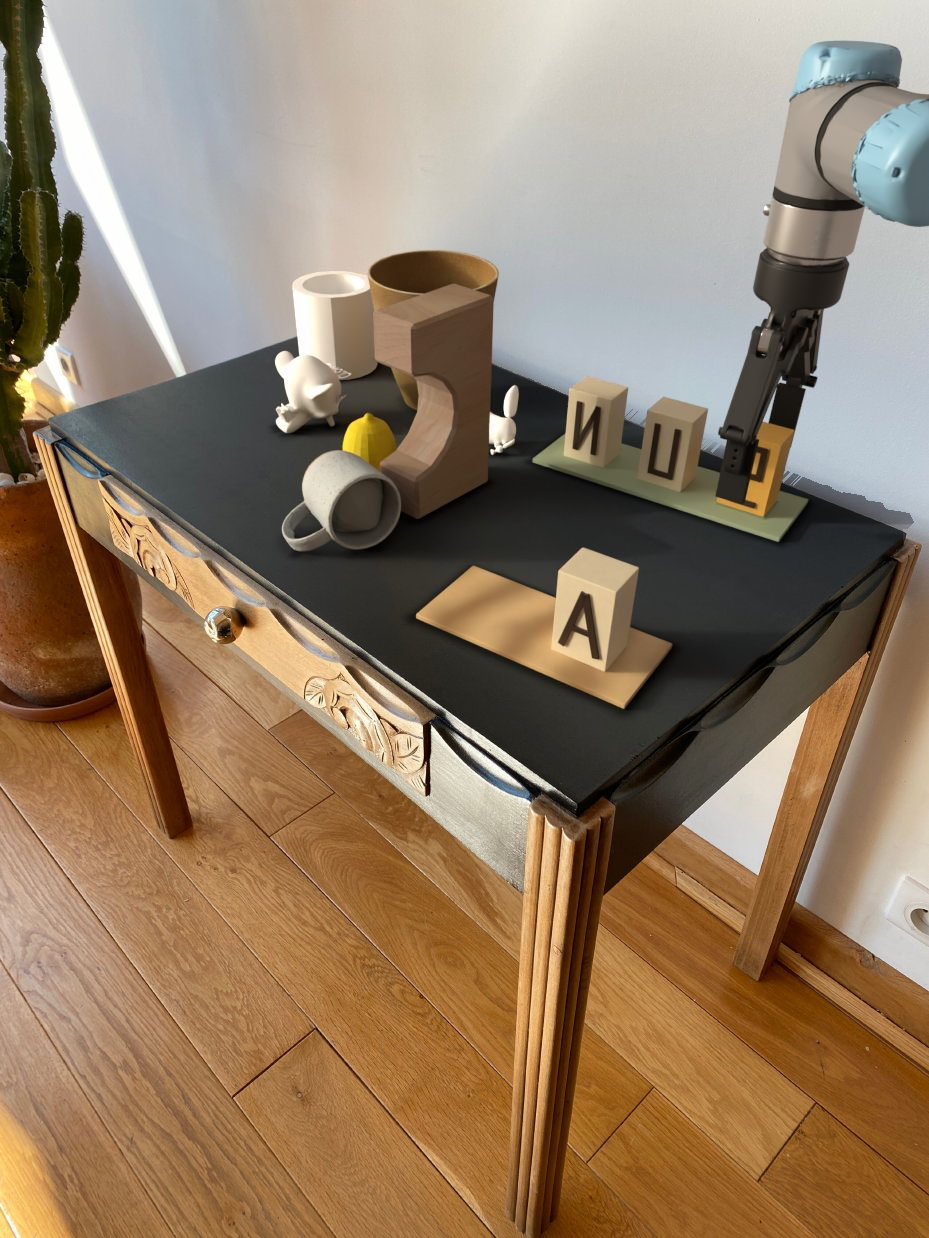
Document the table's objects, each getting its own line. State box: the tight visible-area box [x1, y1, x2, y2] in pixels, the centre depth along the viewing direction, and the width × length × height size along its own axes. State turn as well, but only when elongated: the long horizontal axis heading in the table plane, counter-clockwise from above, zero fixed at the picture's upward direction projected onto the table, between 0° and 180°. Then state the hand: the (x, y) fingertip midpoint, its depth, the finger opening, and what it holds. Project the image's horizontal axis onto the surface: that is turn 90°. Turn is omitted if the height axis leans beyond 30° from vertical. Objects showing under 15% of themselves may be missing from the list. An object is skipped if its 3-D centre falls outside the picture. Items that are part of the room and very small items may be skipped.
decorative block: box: [373, 284, 495, 520], centre depth 91 cm, size 11×6×20 cm, turn 136°
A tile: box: [551, 547, 640, 672], centre depth 74 cm, size 5×4×8 cm
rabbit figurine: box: [489, 384, 520, 456], centre depth 105 cm, size 6×4×8 cm
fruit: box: [342, 411, 397, 471], centre depth 96 cm, size 6×6×8 cm
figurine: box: [274, 350, 351, 434], centre depth 107 cm, size 12×8×10 cm
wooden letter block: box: [564, 375, 629, 468], centre depth 100 cm, size 5×4×8 cm
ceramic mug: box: [281, 449, 402, 552], centre depth 88 cm, size 11×8×8 cm
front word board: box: [415, 565, 673, 710], centre depth 79 cm, size 20×9×1 cm, turn 56°
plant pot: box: [366, 249, 500, 411], centre depth 110 cm, size 15×15×16 cm
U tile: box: [637, 396, 709, 492], centre depth 97 cm, size 5×4×8 cm
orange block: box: [717, 421, 796, 517], centre depth 93 cm, size 5×4×8 cm
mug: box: [291, 270, 378, 381], centre depth 121 cm, size 14×10×11 cm
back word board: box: [532, 432, 809, 543], centre depth 99 cm, size 28×9×1 cm, turn 56°
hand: (754, 471), depth 93 cm, fingers open, 13 cm apart
